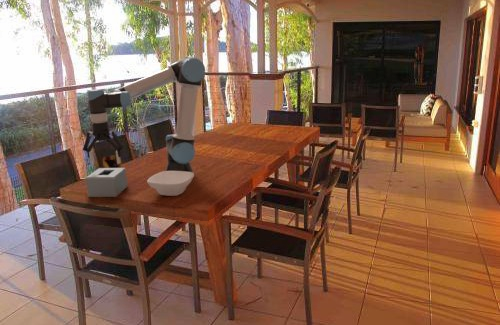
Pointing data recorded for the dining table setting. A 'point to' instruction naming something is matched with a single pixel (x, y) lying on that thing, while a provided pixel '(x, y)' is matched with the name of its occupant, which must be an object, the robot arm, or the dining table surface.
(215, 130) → the dining table surface
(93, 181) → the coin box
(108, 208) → the dining table surface
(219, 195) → the dining table surface
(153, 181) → the bowl
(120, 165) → the mug
